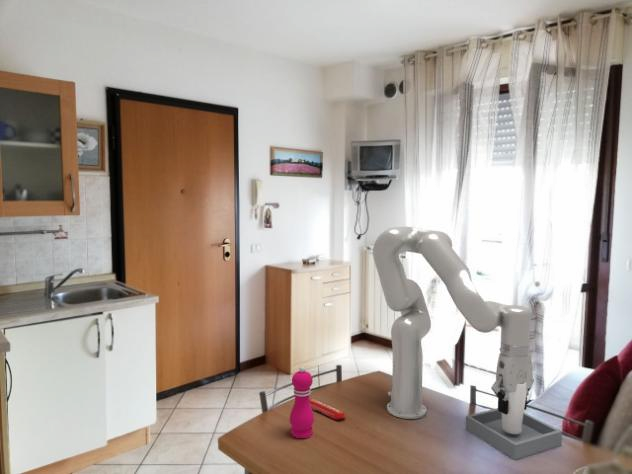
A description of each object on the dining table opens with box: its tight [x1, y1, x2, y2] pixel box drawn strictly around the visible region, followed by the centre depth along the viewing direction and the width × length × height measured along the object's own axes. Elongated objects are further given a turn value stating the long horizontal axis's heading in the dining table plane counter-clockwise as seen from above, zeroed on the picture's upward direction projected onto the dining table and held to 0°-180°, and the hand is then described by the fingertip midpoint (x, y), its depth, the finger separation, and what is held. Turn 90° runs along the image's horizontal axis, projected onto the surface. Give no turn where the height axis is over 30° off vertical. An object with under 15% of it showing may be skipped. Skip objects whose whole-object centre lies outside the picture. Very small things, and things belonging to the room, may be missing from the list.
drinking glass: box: [501, 383, 526, 434], centre depth 127 cm, size 7×7×15 cm
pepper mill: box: [289, 366, 315, 439], centre depth 128 cm, size 7×7×20 cm
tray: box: [464, 407, 563, 461], centre depth 128 cm, size 18×18×4 cm
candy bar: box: [309, 398, 347, 421], centre depth 142 cm, size 16×4×3 cm, turn 45°
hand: (512, 409), depth 127 cm, fingers closed on drinking glass, 6 cm apart
